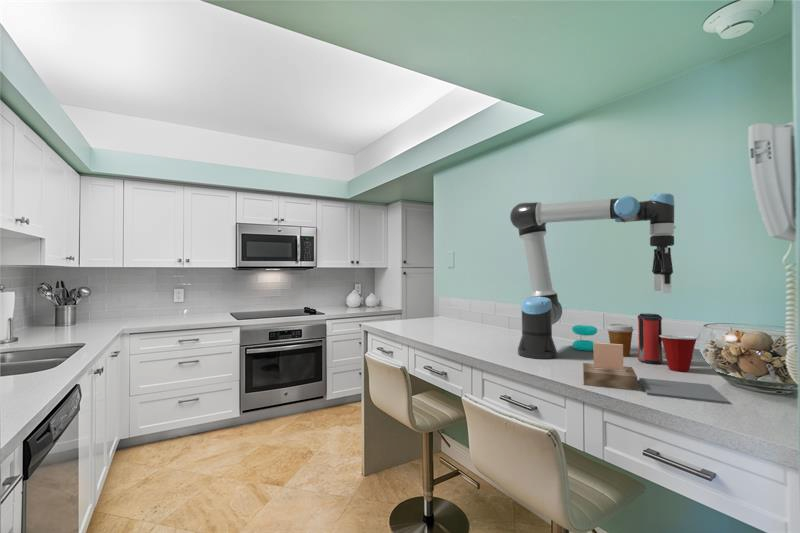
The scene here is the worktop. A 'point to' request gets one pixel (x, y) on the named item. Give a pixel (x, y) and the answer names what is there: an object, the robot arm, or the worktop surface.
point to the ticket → (608, 356)
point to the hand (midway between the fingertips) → (661, 292)
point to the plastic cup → (678, 351)
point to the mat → (682, 390)
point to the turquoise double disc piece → (586, 331)
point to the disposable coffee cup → (621, 336)
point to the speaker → (650, 338)
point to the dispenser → (610, 377)
